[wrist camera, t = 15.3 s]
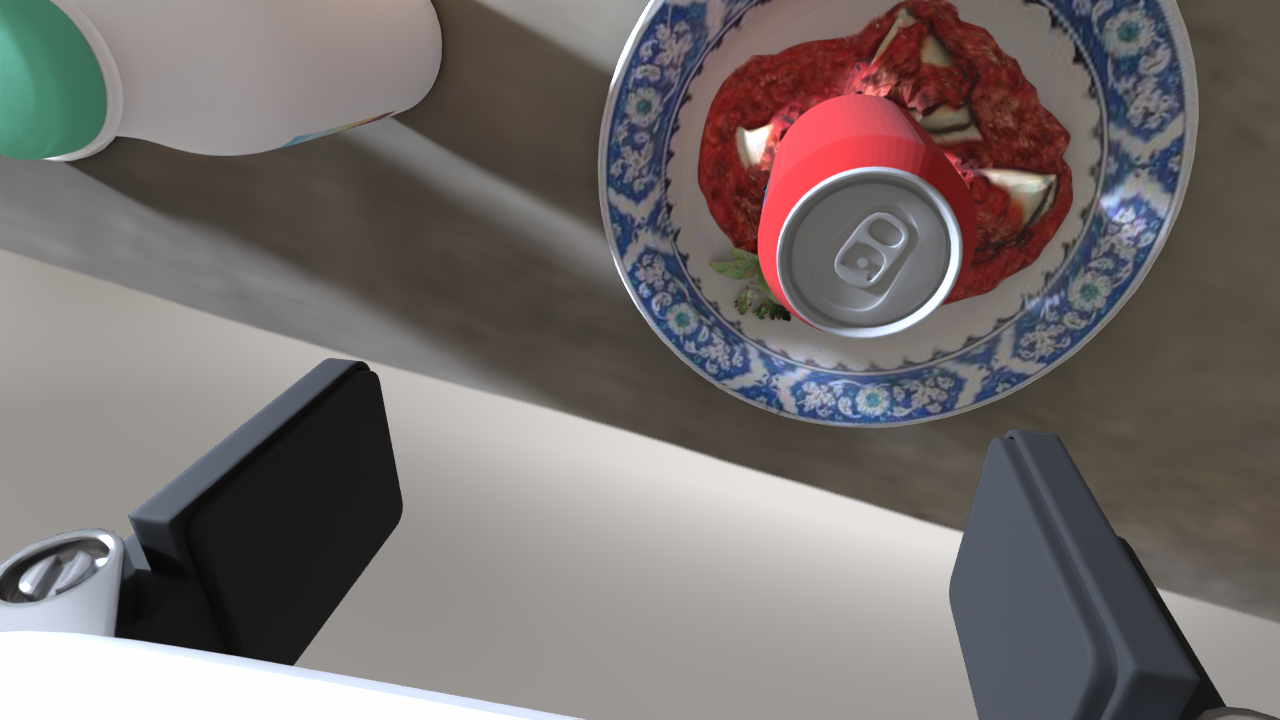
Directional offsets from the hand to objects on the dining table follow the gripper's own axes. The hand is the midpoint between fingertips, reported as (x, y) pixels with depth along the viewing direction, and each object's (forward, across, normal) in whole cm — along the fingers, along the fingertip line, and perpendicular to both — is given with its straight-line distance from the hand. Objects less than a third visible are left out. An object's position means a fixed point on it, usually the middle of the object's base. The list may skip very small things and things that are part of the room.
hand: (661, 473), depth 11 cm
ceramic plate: (+28, -6, +2) cm, 28 cm away
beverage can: (+24, -4, +1) cm, 25 cm away
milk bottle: (+28, +20, -4) cm, 34 cm away
